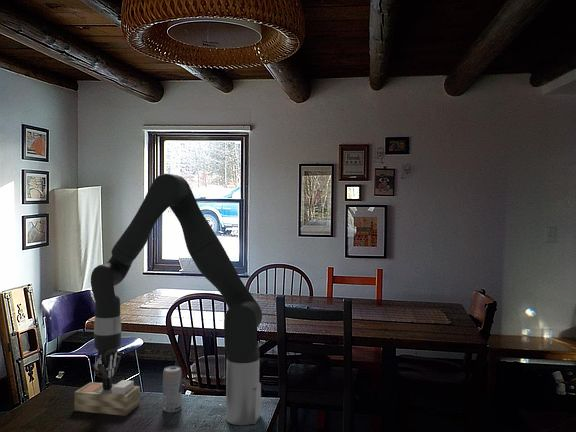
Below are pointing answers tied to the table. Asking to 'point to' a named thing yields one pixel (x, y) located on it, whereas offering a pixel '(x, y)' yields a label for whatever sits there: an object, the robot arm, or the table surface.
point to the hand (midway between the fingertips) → (107, 389)
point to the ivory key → (123, 387)
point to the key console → (106, 401)
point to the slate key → (105, 391)
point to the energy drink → (172, 389)
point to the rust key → (92, 388)
